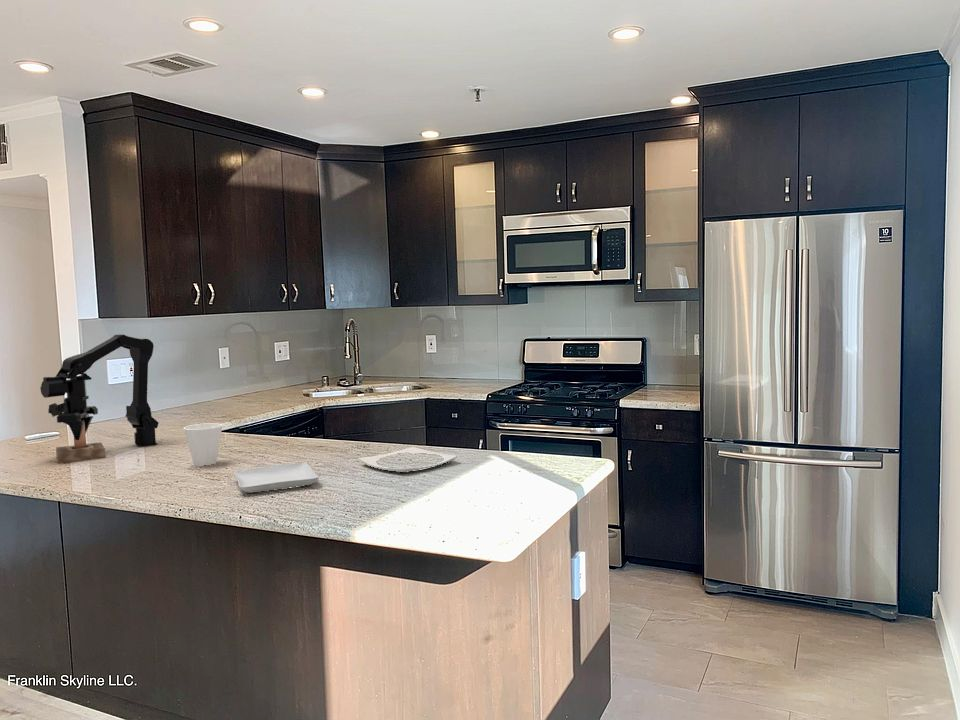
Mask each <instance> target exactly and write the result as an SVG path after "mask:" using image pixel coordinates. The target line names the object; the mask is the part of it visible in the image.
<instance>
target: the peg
mask: <svg viewBox="0 0 960 720" xmlns="http://www.w3.org/2000/svg"><path fill="white" fill-rule="evenodd" d="M73 444H74V448H75V449H79V448H86V444H87V437H86V434H85V422H84V424H83V428H82V432H81V436H80V439H79V440H75V438H74V437H73Z"/></svg>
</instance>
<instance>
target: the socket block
mask: <svg viewBox="0 0 960 720" xmlns="http://www.w3.org/2000/svg"><path fill="white" fill-rule="evenodd" d="M55 450H56V460H57V464H65V463H73V462H82V461H90V460H96V459H98V460H99V459H105V458H106V448H105V446H104V445H103V443H102V441H101V442H93V443H86V448H79V449H75V448H74V445H65V446H57V447H55Z"/></svg>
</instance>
